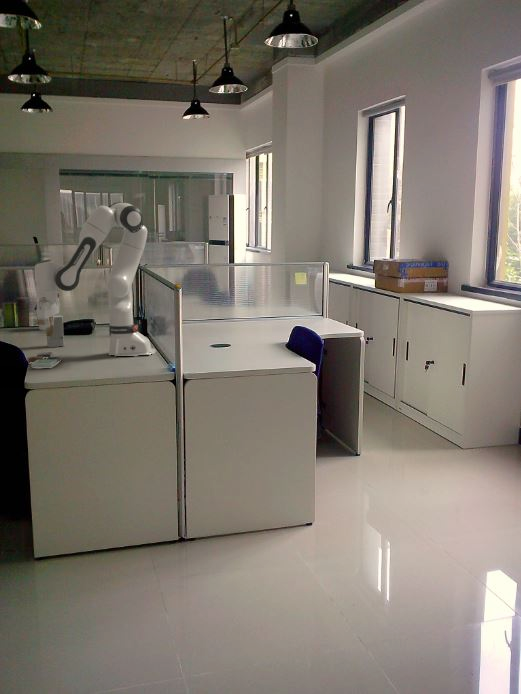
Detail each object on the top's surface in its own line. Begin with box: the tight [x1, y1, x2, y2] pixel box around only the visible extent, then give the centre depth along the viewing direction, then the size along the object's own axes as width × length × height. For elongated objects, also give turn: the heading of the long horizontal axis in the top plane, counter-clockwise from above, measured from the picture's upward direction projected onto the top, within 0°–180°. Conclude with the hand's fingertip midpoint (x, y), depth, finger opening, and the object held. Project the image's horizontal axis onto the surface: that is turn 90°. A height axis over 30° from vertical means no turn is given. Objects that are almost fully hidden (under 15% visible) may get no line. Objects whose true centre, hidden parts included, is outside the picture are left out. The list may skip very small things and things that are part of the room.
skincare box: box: [46, 315, 65, 348], centre depth 348 cm, size 8×7×16 cm
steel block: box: [36, 351, 54, 357], centre depth 321 cm, size 6×5×2 cm
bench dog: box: [27, 355, 45, 364], centre depth 309 cm, size 6×3×3 cm, turn 89°
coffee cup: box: [34, 304, 46, 332], centre depth 400 cm, size 11×11×15 cm
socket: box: [44, 356, 62, 362], centre depth 310 cm, size 6×6×2 cm
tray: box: [30, 359, 57, 367], centre depth 302 cm, size 9×8×2 cm
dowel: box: [45, 317, 53, 337], centre depth 306 cm, size 3×3×10 cm
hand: (49, 326), depth 307 cm, fingers closed on dowel, 3 cm apart
